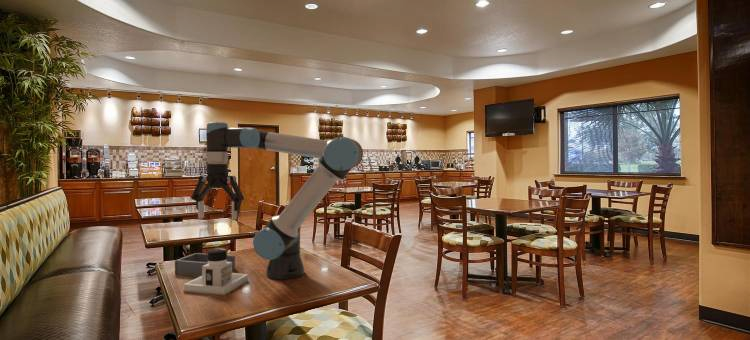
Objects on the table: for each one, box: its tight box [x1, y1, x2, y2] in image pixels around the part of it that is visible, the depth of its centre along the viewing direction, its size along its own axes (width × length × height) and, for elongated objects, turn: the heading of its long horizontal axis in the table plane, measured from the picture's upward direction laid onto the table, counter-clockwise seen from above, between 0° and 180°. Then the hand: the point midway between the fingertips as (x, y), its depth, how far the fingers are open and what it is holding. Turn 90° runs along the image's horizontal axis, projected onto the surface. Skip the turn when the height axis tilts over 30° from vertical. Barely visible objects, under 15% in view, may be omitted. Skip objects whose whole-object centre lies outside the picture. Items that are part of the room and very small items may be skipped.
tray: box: [183, 272, 249, 296], centre depth 146 cm, size 16×16×3 cm
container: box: [202, 248, 233, 287], centre depth 146 cm, size 8×8×13 cm
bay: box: [174, 252, 236, 277], centre depth 165 cm, size 19×13×6 cm
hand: (217, 218), depth 151 cm, fingers open, 13 cm apart
